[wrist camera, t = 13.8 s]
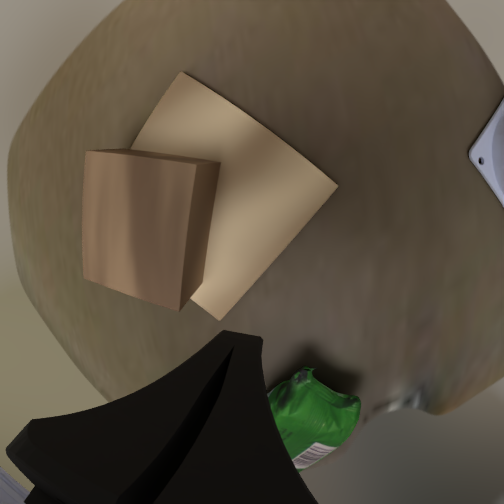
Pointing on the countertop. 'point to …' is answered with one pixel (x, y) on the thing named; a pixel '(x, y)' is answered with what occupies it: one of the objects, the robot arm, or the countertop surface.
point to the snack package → (312, 417)
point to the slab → (147, 222)
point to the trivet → (236, 186)
